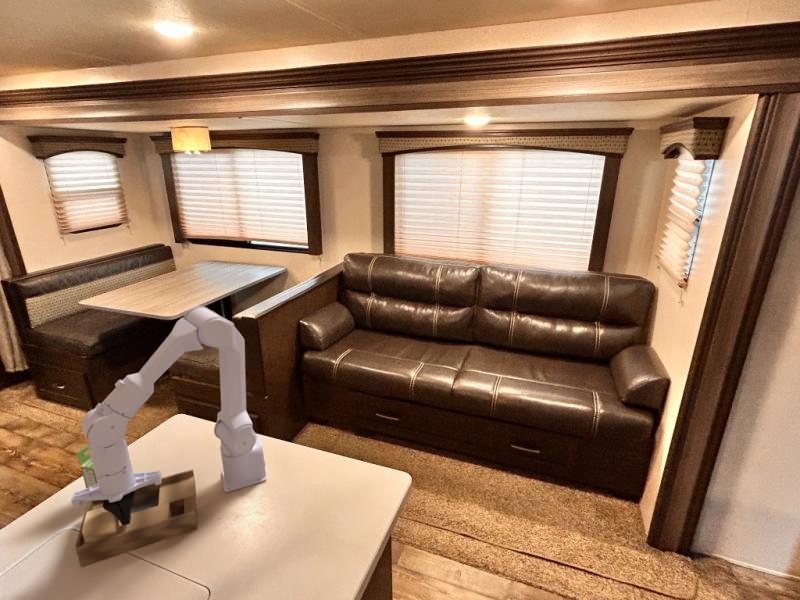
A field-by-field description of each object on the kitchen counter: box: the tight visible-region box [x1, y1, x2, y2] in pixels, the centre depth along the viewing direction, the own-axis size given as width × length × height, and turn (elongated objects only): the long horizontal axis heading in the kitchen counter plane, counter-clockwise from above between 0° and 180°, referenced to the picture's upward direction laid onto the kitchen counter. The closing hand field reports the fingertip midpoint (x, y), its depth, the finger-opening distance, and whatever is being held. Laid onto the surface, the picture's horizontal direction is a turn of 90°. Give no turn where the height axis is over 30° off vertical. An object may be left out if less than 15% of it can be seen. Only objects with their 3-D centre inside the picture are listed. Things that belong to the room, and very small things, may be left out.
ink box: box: [76, 444, 98, 489], centre depth 95 cm, size 7×4×13 cm, turn 169°
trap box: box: [74, 469, 198, 568], centre depth 88 cm, size 20×14×5 cm
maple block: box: [82, 507, 120, 544], centre depth 82 cm, size 5×5×4 cm
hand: (126, 521), depth 84 cm, fingers closed
